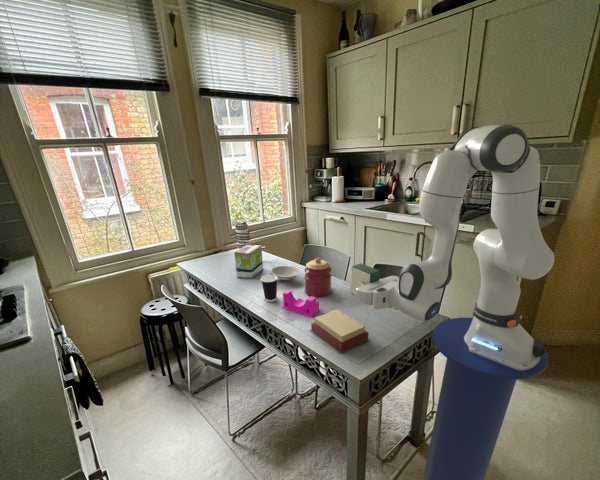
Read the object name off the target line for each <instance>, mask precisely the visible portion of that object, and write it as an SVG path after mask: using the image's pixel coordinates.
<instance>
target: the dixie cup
mask: <svg viewBox="0 0 600 480" xmlns="http://www.w3.org/2000/svg"><path fill="white" fill-rule="evenodd" d="M278 280H279V279H278V277H277V276H275V275H273V274H267V275H266V274H265V275H263V276H261V277H260V281H261V285H262V291H263V293H264V294H263V295H264V299H265V301H266V302H271V303H272V302H275V301H276V299H277V291H278V287H277V286H278Z"/></svg>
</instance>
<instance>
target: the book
mask: <svg viewBox="0 0 600 480" xmlns="http://www.w3.org/2000/svg"><path fill="white" fill-rule="evenodd" d="M380 274H381V270H380V269H377V268H375V267H371V266H370V265H366V264H365V263H364V264H363V263H361V262H360V263H358V264H354V265H351V274H350V275H351V276H350V277H351V281H350V294H351V295H352V296H354V297H355V290H356V288H359V286H358V282H361V281H362V282H364V285H367V284H370V283H373V282H375V281H378V280H379V279H380V276H381V275H380Z"/></svg>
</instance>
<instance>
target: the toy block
mask: <svg viewBox="0 0 600 480" xmlns="http://www.w3.org/2000/svg"><path fill="white" fill-rule="evenodd" d="M282 301H283V309H285V310H288V311H292V312H295V313H299V314H301V315H305V316H308V317H311V318H312V317H313V316H315V315H316V314H317V313H318V312H320V301H318V300H317V297H315V296H310V295H309V297H308V298H306V299H305V300H304V299H302V298H298V299H297V298H296V297H294V294H293V291H292V290H289V289H286V290H285V291H284V292H282Z"/></svg>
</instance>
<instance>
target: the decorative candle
mask: <svg viewBox="0 0 600 480" xmlns="http://www.w3.org/2000/svg"><path fill="white" fill-rule="evenodd" d="M248 224H249V222H247V221H246V220H237V221H236V222H235V223H234V226H235V227H234V228H235V229H234V236H235V237H234V238H235V242H236V244H237V250H239V249H240V248H242V247H244V246H245V245H251V244H250V243H251V238H250V237H251V235H250V234H251V233H250V232H251V231H250V229H249V225H248Z"/></svg>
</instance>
